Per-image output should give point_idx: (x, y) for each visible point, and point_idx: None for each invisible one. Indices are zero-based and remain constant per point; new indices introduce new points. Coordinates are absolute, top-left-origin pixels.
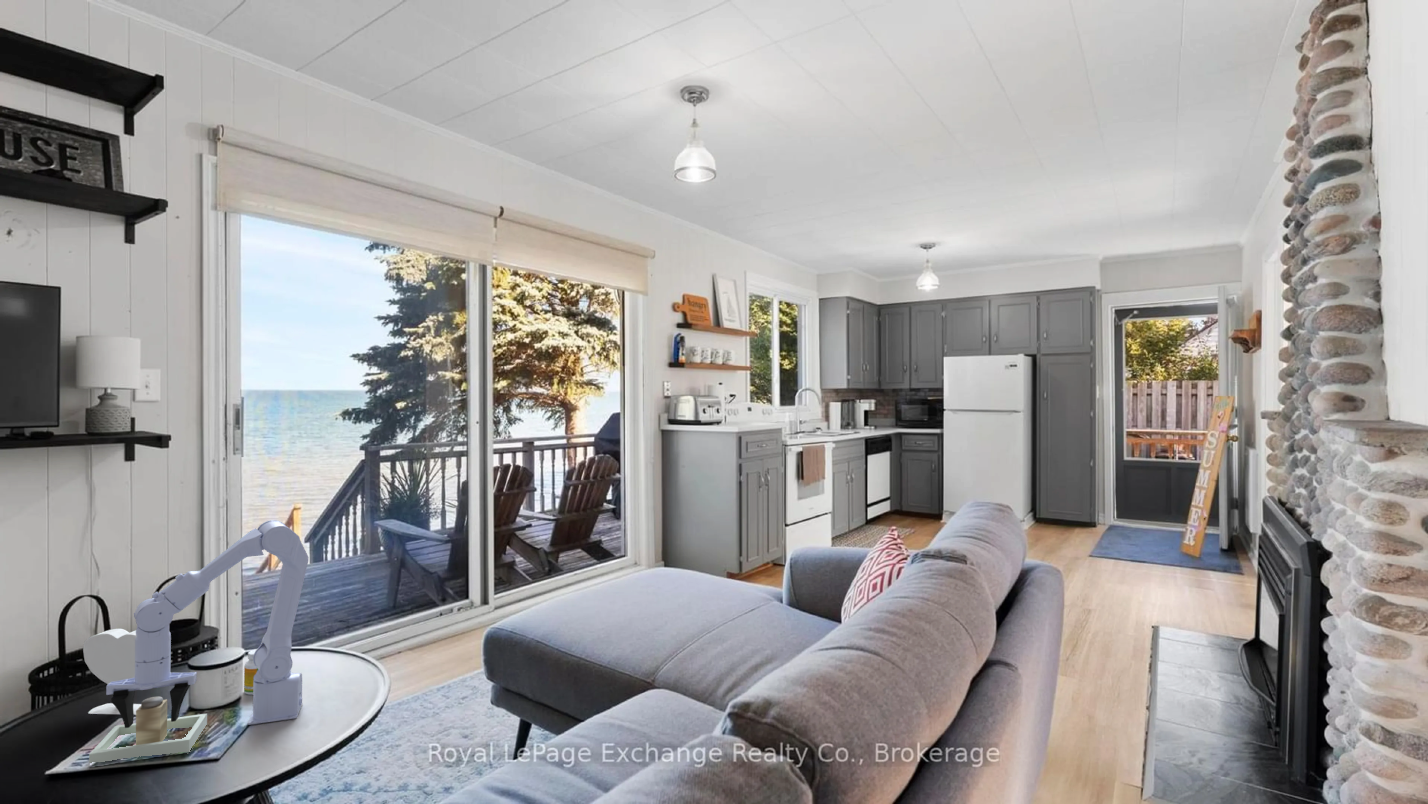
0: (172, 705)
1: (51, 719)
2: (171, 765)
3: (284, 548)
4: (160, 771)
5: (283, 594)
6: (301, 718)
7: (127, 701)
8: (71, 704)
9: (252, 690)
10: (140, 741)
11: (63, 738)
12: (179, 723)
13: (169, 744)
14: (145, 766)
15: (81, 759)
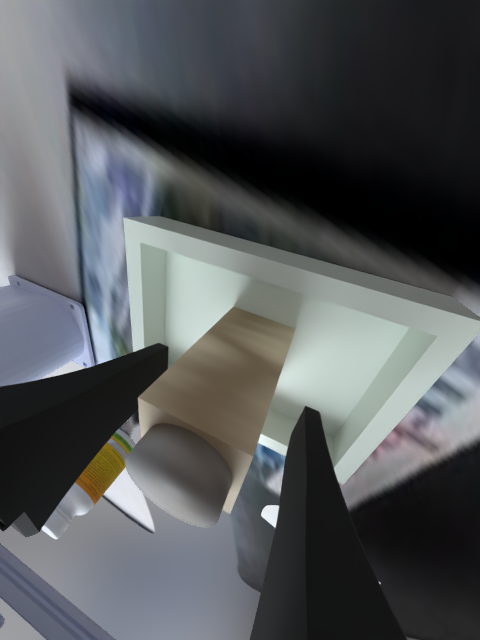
0: (95, 380)
1: (455, 620)
2: (189, 132)
3: None
4: (215, 85)
5: None
6: (7, 269)
7: (291, 590)
8: (402, 628)
9: (115, 436)
10: (277, 336)
11: (460, 538)
12: None
13: (184, 233)
14: (266, 179)
15: (455, 387)
